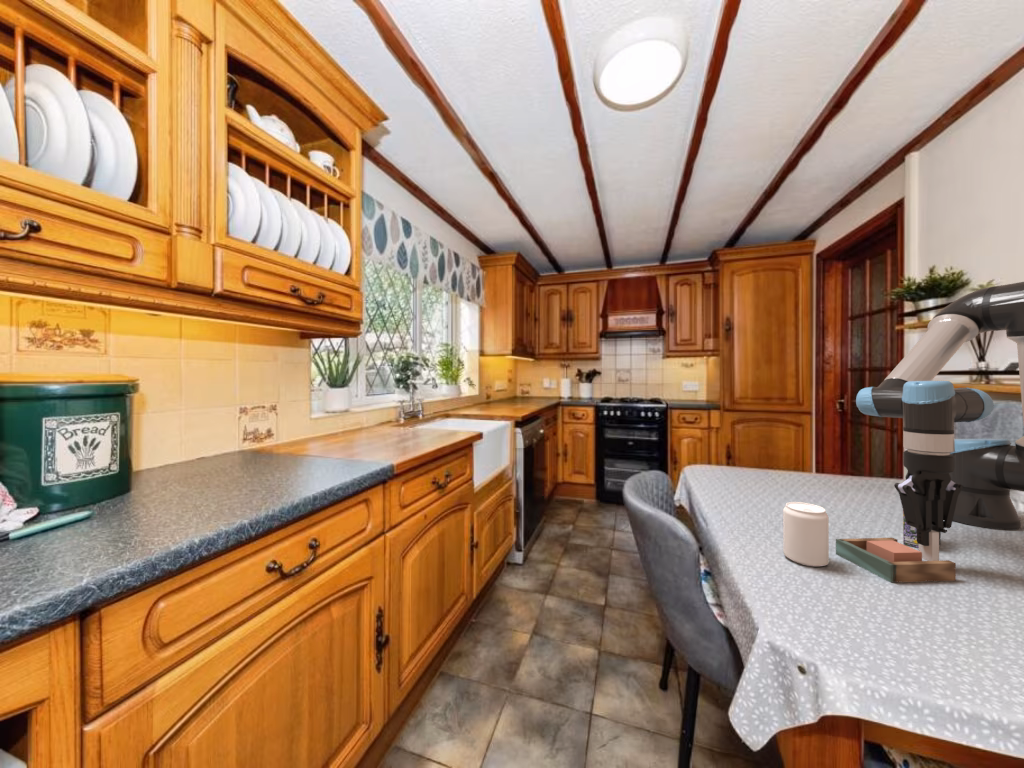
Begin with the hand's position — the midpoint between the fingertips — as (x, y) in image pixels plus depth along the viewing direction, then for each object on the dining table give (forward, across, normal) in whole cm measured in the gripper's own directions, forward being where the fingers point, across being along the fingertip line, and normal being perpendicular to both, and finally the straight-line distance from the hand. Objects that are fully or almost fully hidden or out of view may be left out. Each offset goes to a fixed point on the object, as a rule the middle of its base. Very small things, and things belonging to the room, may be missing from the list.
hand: (928, 559), depth 83 cm
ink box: (+2, -9, -11) cm, 14 cm away
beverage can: (+1, +24, -4) cm, 25 cm away
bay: (+1, +8, 0) cm, 8 cm away
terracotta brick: (+1, +8, 0) cm, 8 cm away
